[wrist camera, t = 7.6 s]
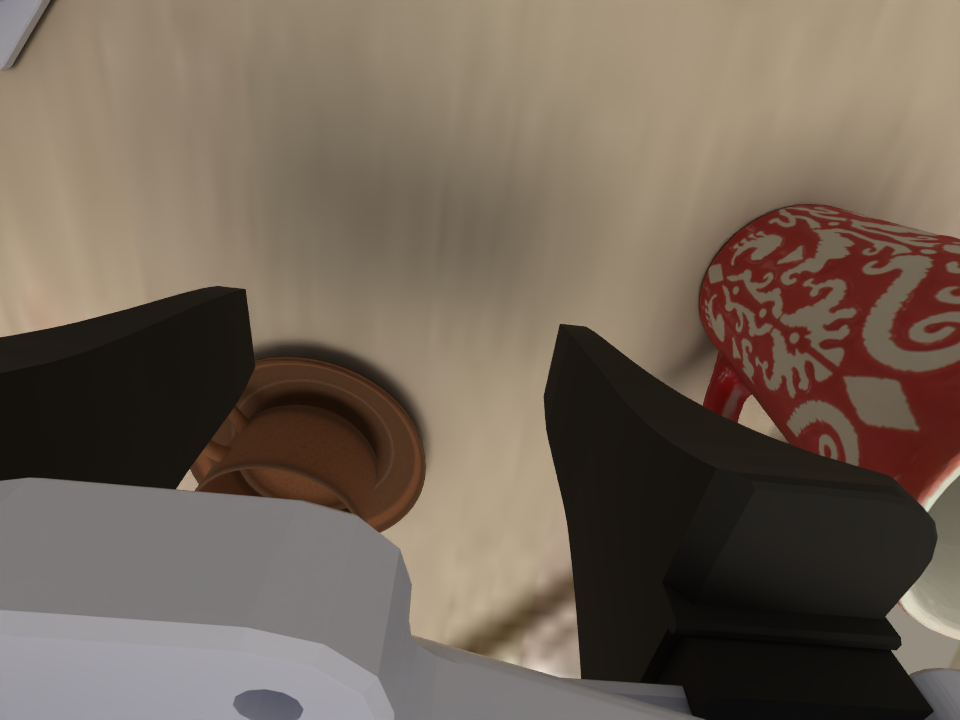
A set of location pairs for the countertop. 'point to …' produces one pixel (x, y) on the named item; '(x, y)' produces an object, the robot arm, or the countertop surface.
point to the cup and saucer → (317, 443)
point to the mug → (851, 358)
